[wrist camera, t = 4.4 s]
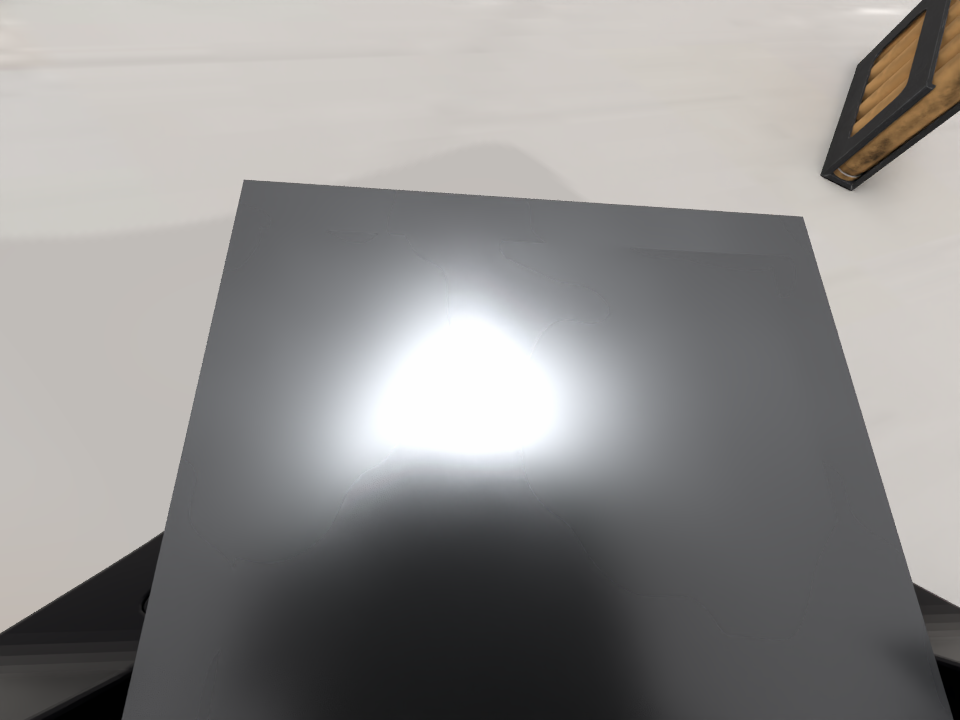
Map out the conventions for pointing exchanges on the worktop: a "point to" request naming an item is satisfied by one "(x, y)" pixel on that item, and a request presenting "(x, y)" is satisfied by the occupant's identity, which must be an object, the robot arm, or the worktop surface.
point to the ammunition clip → (898, 93)
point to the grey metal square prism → (526, 476)
